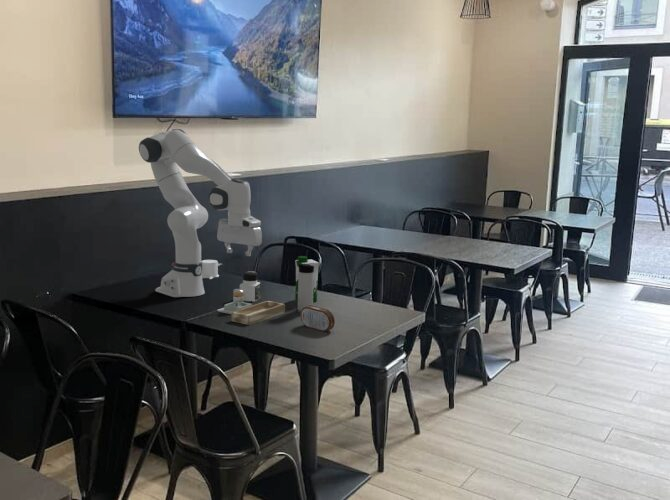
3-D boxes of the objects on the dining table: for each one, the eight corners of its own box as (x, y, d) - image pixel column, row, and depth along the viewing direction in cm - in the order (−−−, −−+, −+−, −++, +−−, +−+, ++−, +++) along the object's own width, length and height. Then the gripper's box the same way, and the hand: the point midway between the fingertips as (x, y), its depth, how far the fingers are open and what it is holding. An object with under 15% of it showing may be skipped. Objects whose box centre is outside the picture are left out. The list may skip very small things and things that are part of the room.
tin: (334, 332, 258) (335, 310, 257) (329, 334, 256) (330, 312, 254) (304, 324, 267) (304, 302, 266) (298, 325, 265) (299, 304, 263)
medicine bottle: (255, 302, 297) (255, 274, 295) (239, 300, 298) (239, 273, 296) (260, 298, 304) (260, 271, 302) (244, 296, 305) (245, 270, 303)
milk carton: (292, 300, 302) (293, 255, 298) (311, 298, 306) (312, 254, 303) (300, 305, 294) (302, 259, 291) (319, 303, 298) (321, 257, 295)
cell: (231, 309, 282) (231, 290, 280) (237, 307, 285) (237, 288, 284) (238, 311, 280) (239, 291, 278) (245, 308, 283) (245, 289, 282)
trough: (231, 321, 267) (231, 312, 267) (267, 308, 287) (267, 300, 286) (250, 325, 263) (250, 316, 262) (285, 312, 282) (285, 304, 282)
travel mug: (293, 310, 285) (295, 263, 282) (306, 308, 290) (307, 261, 286) (303, 314, 281) (304, 265, 277) (315, 312, 285) (317, 264, 281)
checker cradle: (217, 311, 280) (217, 304, 280) (235, 305, 291) (235, 299, 290) (240, 316, 274) (240, 309, 274) (259, 310, 285) (259, 303, 284)
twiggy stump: (237, 278, 342) (237, 262, 340) (202, 283, 329) (202, 266, 328) (215, 271, 357) (215, 255, 355) (181, 275, 344) (181, 259, 343)
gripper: (213, 218, 279) (213, 252, 281) (254, 223, 268) (254, 258, 271) (224, 217, 284) (223, 250, 286) (264, 222, 274) (263, 256, 276)
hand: (238, 254), depth 279 cm, fingers open, 8 cm apart
